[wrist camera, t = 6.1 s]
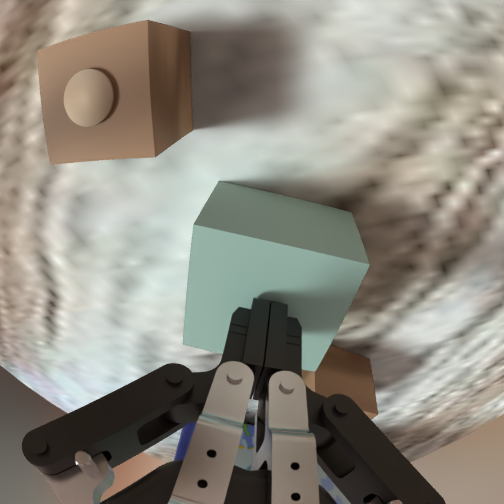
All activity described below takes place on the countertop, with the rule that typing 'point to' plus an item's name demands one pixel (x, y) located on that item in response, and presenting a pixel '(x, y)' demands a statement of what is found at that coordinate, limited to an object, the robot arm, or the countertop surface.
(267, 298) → the plain block
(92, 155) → the dotted cube
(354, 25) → the countertop surface
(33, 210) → the countertop surface
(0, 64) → the countertop surface
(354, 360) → the dotted cube
